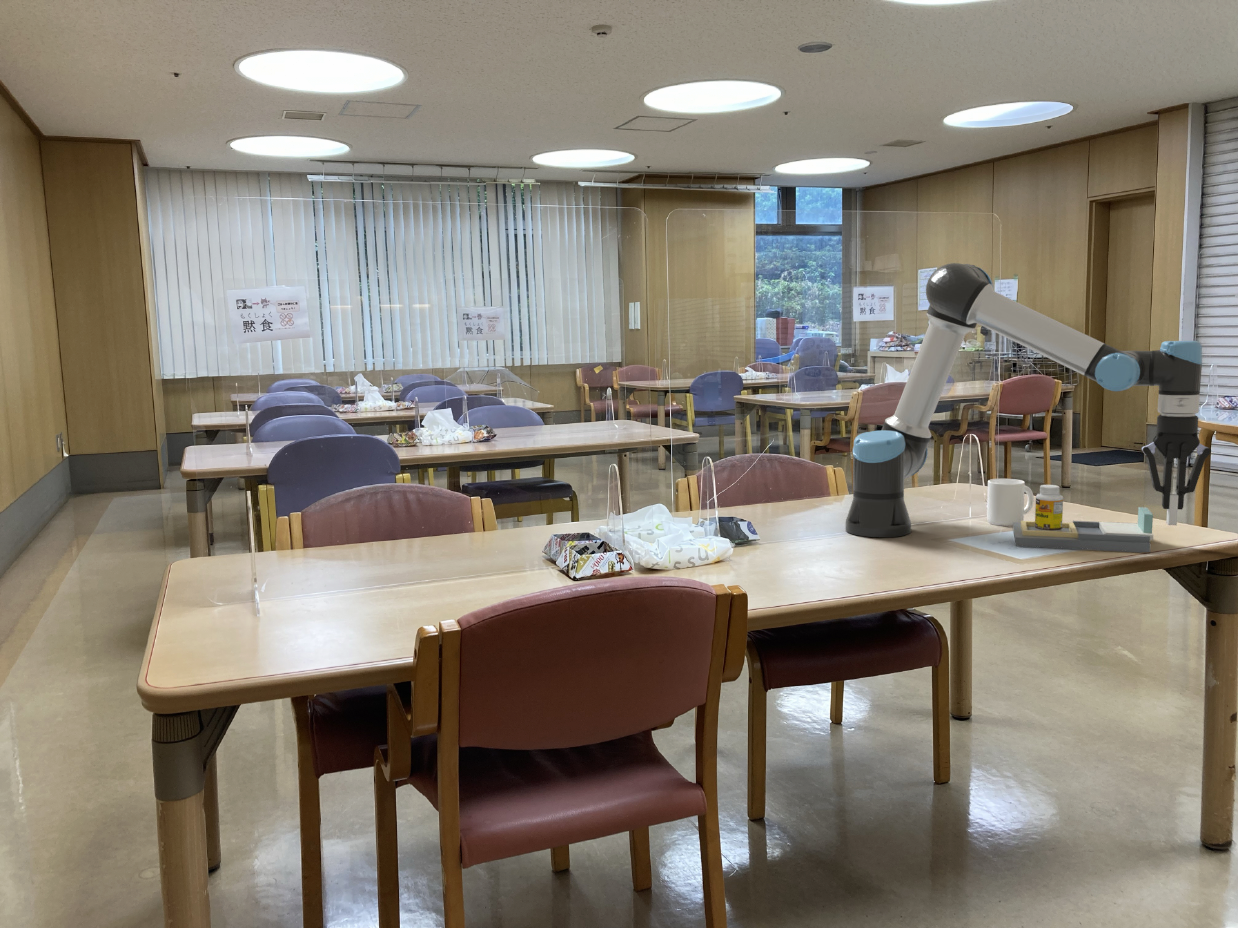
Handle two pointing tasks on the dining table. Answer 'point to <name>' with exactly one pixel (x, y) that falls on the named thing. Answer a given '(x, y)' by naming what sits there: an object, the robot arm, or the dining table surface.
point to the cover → (1131, 525)
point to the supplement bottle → (1049, 509)
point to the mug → (1007, 501)
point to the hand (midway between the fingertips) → (1171, 523)
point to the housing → (1078, 538)
